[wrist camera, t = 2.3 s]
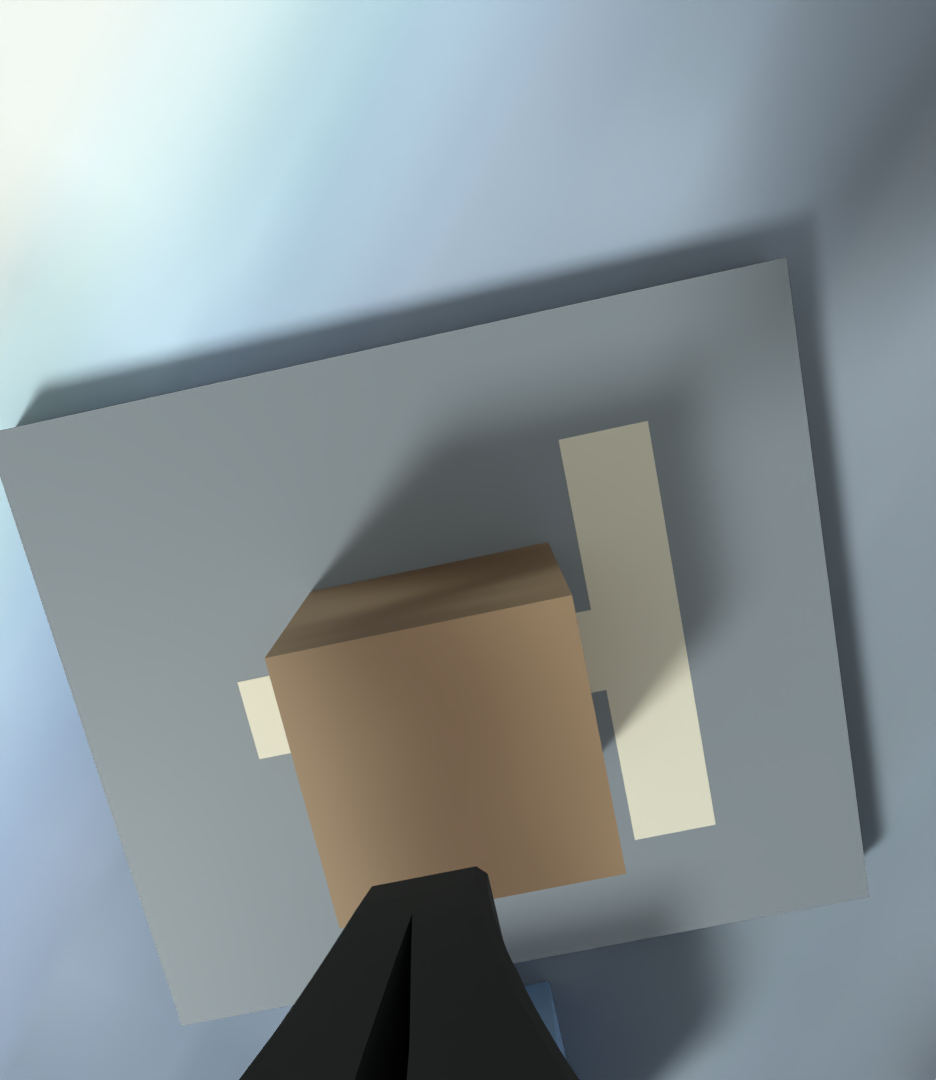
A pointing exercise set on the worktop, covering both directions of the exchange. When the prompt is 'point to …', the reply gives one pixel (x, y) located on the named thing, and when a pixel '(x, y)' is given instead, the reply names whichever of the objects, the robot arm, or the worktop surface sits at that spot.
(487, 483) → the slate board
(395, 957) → the robot arm
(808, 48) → the worktop surface
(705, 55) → the worktop surface
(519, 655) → the walnut block
